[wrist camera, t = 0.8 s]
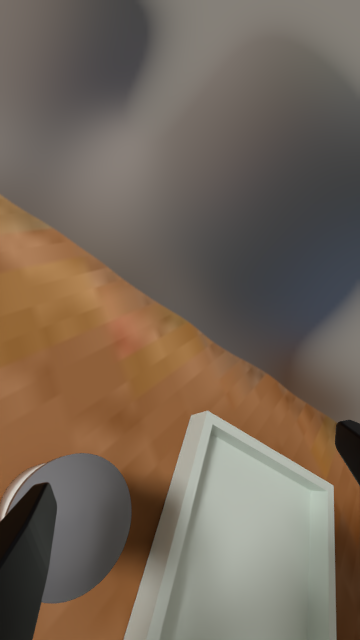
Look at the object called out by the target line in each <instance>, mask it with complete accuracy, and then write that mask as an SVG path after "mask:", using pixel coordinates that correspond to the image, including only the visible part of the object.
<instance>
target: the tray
mask: <svg viewBox="0 0 360 640" xmlns="http://www.w3.org/2000/svg"><path fill="white" fill-rule="evenodd" d="M124 640H336V589H335V538H334V486H333V485H332V484H330V483H328V482H327V481H325V480H323V479H321V478H320V477H318V476H316V475H315V474H313V473H311V472H310V471H308V470H306V469H305V468H303V467H301V466H300V465H298V464H296V463H295V462H293V461H291V460H290V459H288V458H286V457H284V456H283V455H281V454H279V453H278V452H276V451H274V450H273V449H271V448H269V447H268V446H266V445H264V444H263V443H261V442H259V441H258V440H256V439H254V438H253V437H251V436H249V435H247V434H246V433H244V432H242V431H241V430H239V429H237V428H236V427H234V426H232V425H231V424H229V423H227V422H226V421H224V420H222V419H221V418H219V417H217V416H216V415H214V414H212V413H211V412H209V411H205V412H201V413H198V414H195V415H191V418H190V421H189V424H188V428H187V431H186V434H185V438H184V441H183V444H182V448H181V451H180V454H179V458H178V461H177V464H176V467H175V471H174V474H173V477H172V481H171V484H170V487H169V491H168V494H167V497H166V501H165V504H164V507H163V511H162V514H161V517H160V521H159V524H158V527H157V530H156V534H155V537H154V540H153V544H152V547H151V550H150V554H149V557H148V560H147V564H146V567H145V570H144V574H143V577H142V580H141V583H140V587H139V590H138V593H137V597H136V600H135V603H134V607H133V610H132V613H131V617H130V620H129V623H128V627H127V630H126V633H125V637H124Z"/></svg>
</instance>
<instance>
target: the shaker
mask: <svg viewBox="0 0 360 640" xmlns="http://www.w3.org/2000/svg"><path fill="white" fill-rule="evenodd" d="M44 482H49V483H50V485H51V487H52V490H53V493H54V496H55V499H56V502H57V515H56V522H55V529H54V536H53V543H52V550H51V557H50V564H49V570H48V575H47V580H46V584H45V589H44V593H43V597H42V601H41V602H43V603H61V602H66V601H70V600H73V599H75V598H77V597H80V596H82V595H83V594H85V593H87V592H88V591H90V590H91V589H92V588H94V587H95V586H96V585H97V584H99V583H100V582H101V581H102V580H103V579H104V578H105V576H106V575H107V574H108V573H109V572H110V570H111V569H112V568H113V566H114V565H115V563H116V562H117V560H118V558H119V556H120V554H121V552H122V551H123V548H124V546H125V543H126V540H127V537H128V534H129V529H130V524H131V498H130V494H129V490H128V487H127V484H126V482H125V480H124V478H123V476H122V475H121V473H120V472H119V470H118V469H117V468H116V467H115V466H114V465H113V464H112V463H110V462H109V461H107V460H106V459H104V458H102V457H99V456H97V455H93V454H85V453H80V454H72V455H67V456H63V457H59V458H57V459H54V460H51V461H49V462H47V463H43V464H39V465H36V466H33V467H30V468H28V469H27V470H25V471H23V472H22V473H21V474H19V475H18V476H17V477H16V478H15V479H14V480H13V481H12V482H11V483H10V485H9V486H8V487H7V489H6V491H5V492H4V494H3V497H2V499H1V502H0V521H1V520H2V519H3V518H4V517H5V516H6V515H7V513H8V512H9V511H10V510H11V509H12V508H13V507H14V506H15V505H16V504H17V502H18V501H19V500H20V499H21V498H22V497H23V496H24V495H25V494H26V492H27V491H28V490H29V489H30V488H31V487H32V486H33V485H35V484H39V483H44Z"/></svg>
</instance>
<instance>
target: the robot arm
mask: <svg viewBox="0 0 360 640" xmlns="http://www.w3.org/2000/svg"><path fill="white" fill-rule="evenodd" d="M335 445H336V448H337V450H338V452H339V454H340V455H341V457H342V458H343V460H344V462H345V463H346V465H347V466H348V468H349V470H350V471H351V473H352V474H353V476H354V478H355V479H356V481H357V482H358V484H359V486H360V424H359V423H357V422H354V421H352V420H345V421H340V422H338V423H337V425H336V435H335ZM56 515H57V502H56V499H55V496H54V493H53V490H52V487H51V485H50V483H49V482H44V483H39V484H35V485H33V486H32V487H31V488H30V489H29V490H28V491H27V492H26V494H25V495H24V496H23V497H22V498H21V499H20V500H19V501H18V502H17V504H16V505H15V506H14V507H13V508H12V509H11V510H10V511H9V512H8V513H7V515H6V516H5V517H4V518H3V519H2V520H1V521H0V640H32V639H33V635H34V631H35V626H36V622H37V618H38V614H39V610H40V605H41V601H42V597H43V593H44V589H45V584H46V580H47V575H48V570H49V564H50V557H51V550H52V543H53V536H54V529H55V522H56Z"/></svg>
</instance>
